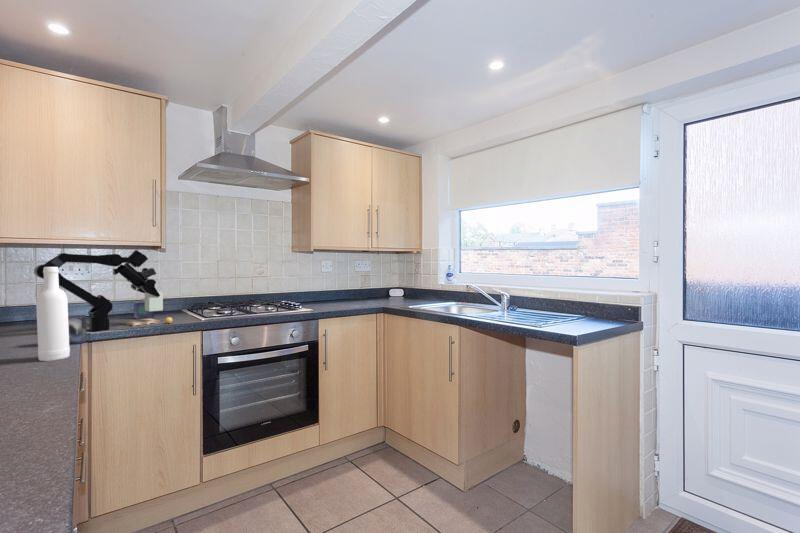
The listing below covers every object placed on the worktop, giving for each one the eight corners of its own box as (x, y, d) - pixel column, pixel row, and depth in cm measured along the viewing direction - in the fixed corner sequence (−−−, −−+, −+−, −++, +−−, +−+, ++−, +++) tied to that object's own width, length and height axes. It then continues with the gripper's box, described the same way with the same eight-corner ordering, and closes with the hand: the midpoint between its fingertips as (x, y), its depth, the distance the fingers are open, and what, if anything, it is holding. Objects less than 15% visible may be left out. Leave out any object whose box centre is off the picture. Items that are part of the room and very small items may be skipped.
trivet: (133, 326, 194) (133, 323, 194) (122, 324, 201) (122, 321, 201) (160, 322, 204) (160, 320, 204) (149, 320, 211) (149, 318, 211)
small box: (47, 346, 151) (46, 318, 151) (54, 343, 157) (53, 316, 157) (82, 343, 156) (81, 316, 155) (87, 340, 162) (86, 314, 161)
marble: (167, 324, 198) (166, 317, 198) (164, 323, 200) (163, 317, 200) (173, 323, 201) (173, 317, 201) (170, 322, 203) (170, 316, 203)
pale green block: (149, 311, 198) (149, 291, 198) (144, 310, 202) (144, 291, 202) (162, 310, 202) (162, 291, 202) (158, 309, 207) (157, 290, 206)
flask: (133, 319, 218) (133, 299, 218) (135, 318, 221) (134, 298, 220) (153, 318, 221) (152, 298, 221) (154, 317, 224) (154, 297, 223)
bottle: (31, 361, 129) (27, 267, 128) (52, 355, 137) (48, 266, 136) (56, 361, 129) (52, 267, 128) (76, 355, 137) (72, 266, 136)
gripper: (151, 262, 193) (176, 284, 201) (137, 262, 205) (161, 283, 213) (132, 279, 187) (159, 301, 196) (119, 278, 199) (145, 299, 208)
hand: (156, 295), depth 203 cm, fingers closed on pale green block, 6 cm apart
